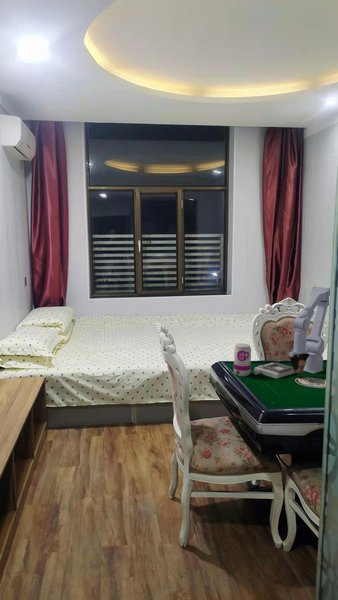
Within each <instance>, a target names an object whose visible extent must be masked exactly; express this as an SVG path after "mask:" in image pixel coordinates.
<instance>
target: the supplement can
mask: <svg viewBox="0 0 338 600" xmlns="http://www.w3.org/2000/svg"><path fill="white" fill-rule="evenodd" d="M233 351H234V353H233V355H234V357H233V374H234V375H235V374H236V375H235V376H237V375H238V377H247V376H249V375H250V374H251V361H252V347H251V345H250V344H248V343H236V344H235V347H234V350H233Z"/></svg>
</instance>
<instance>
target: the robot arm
mask: <svg viewBox="0 0 338 600" xmlns="http://www.w3.org/2000/svg"><path fill="white" fill-rule="evenodd" d="M330 288H331V287H321V286H319V287H318V286H312V288H311V289H310V299H309V301H308V303H307V304H306V306H304V307H303V309H302V310H301V311H300V313H299V315H298V316H297V317H295V318H293V321H292V329H293V333H294V334H293V335H294V336H293V339H294V340H293V349H292V350H291V351H290V352H288V358H289V359H290V362H291V367H293V369H294V370H297V369H298V364H299V360H300V359H304V362H307V364H306V365H305V364H304V372H308V373H311V374H317V373H320V372H322V371H324V370H325V369H323V367H324V357H323V353H324V351H325V340H324V339H323V338H322V337H321V336H322V331H323V327H324V322H325V319H326V315H327V311H328V308H329V306H330V305H329V296H330ZM315 308H316V311H315ZM314 314H315V315H314ZM313 316H314V319H313V322H312V323H313V324H312V327H311V330H310V334H309V335H308V333H307V332H308V329H309V328H310V324H311V320H312V317H313Z"/></svg>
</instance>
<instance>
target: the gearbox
mask: <svg viewBox="0 0 338 600" xmlns="http://www.w3.org/2000/svg"><path fill="white" fill-rule="evenodd" d="M295 373H296V372H294V371H293V366H289V365H285V364H282V363H279V362H270V363H267V364H263V365H258V366H256V367H254V369H253V374H254V376H257V375H264V376H267V377H270V378H274V379H280V378H282V377H286V376H290V375H292V374H295Z"/></svg>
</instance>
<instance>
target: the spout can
mask: <svg viewBox="0 0 338 600" xmlns="http://www.w3.org/2000/svg"><path fill="white" fill-rule="evenodd" d="M304 364H305V365H306V364H307V362H304V359H300V360H299V364H298V369H297V370H294V369H293V371H294V372H295V373H297V374H302V373H304V372H305V371H304Z"/></svg>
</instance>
